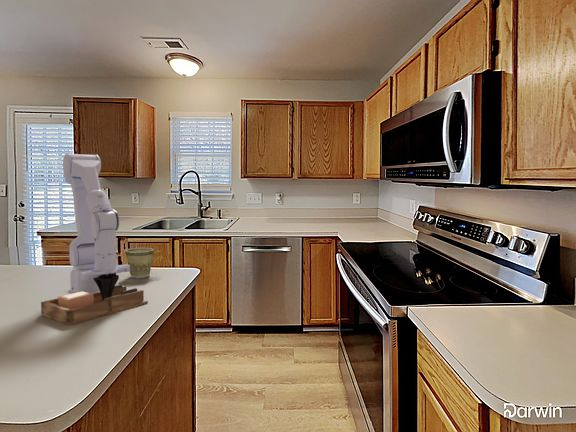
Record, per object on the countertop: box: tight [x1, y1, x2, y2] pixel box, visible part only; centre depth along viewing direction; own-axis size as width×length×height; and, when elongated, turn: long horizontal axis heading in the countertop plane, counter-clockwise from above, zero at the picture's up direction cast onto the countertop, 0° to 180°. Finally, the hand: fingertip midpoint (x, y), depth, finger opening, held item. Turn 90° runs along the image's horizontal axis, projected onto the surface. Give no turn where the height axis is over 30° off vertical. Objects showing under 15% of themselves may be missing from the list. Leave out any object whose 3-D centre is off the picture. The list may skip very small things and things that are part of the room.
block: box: [57, 291, 94, 309], centre depth 119 cm, size 5×7×5 cm
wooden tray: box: [40, 283, 149, 326], centre depth 125 cm, size 13×24×4 cm, turn 146°
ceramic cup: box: [125, 247, 162, 279], centre depth 165 cm, size 13×10×10 cm
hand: (106, 300), depth 127 cm, fingers closed
